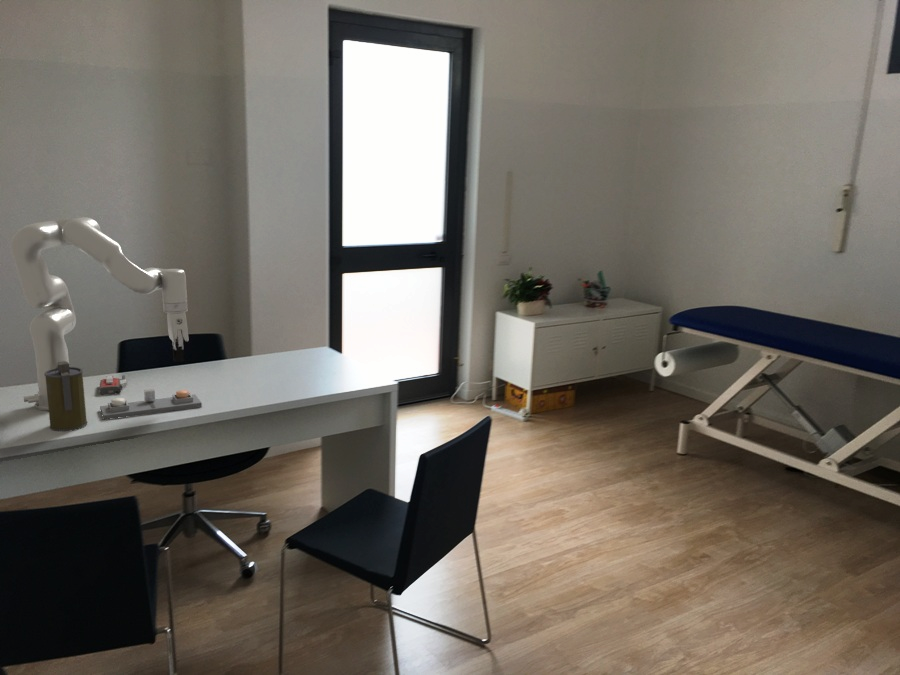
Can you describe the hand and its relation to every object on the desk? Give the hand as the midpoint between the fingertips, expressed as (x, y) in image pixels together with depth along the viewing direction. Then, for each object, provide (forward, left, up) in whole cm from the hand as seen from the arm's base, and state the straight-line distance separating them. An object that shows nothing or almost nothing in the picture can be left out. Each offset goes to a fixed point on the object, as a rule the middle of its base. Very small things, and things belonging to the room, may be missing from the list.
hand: (179, 360), depth 245 cm
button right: (+1, 0, -13) cm, 13 cm away
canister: (-34, -6, -16) cm, 38 cm away
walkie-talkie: (-17, +31, -16) cm, 39 cm away
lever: (-9, +4, -14) cm, 17 cm away
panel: (-9, 0, -16) cm, 18 cm away
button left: (-19, 0, -13) cm, 23 cm away
